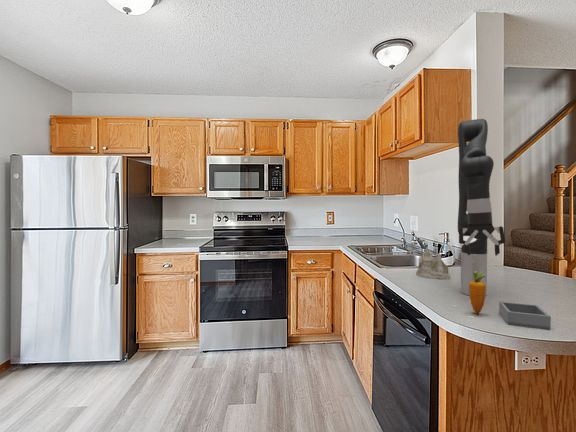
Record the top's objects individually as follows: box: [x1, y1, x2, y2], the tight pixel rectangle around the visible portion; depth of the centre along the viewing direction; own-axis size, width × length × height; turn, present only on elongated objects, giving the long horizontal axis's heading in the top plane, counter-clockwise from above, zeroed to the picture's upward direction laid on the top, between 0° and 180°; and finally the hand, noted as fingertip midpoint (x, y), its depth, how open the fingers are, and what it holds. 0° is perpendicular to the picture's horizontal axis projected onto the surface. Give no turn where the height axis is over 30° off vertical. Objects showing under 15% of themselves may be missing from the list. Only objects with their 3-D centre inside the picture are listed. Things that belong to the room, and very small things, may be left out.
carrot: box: [468, 271, 486, 315], centre depth 103 cm, size 5×5×15 cm
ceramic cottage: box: [415, 248, 451, 281], centre depth 158 cm, size 16×16×15 cm
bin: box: [498, 301, 552, 331], centre depth 97 cm, size 11×11×4 cm
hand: (482, 255), depth 111 cm, fingers open, 8 cm apart
